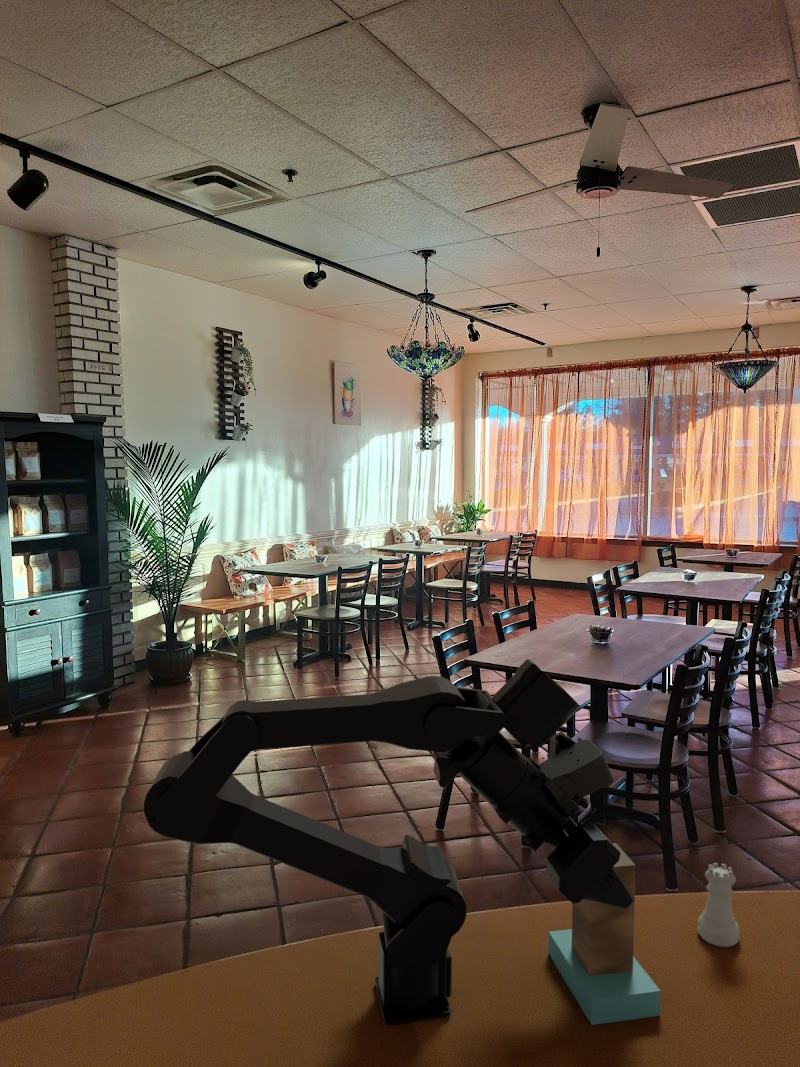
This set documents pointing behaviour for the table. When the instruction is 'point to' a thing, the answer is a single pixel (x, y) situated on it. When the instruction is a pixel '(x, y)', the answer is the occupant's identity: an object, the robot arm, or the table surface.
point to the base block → (604, 986)
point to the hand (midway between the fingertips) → (609, 879)
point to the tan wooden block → (606, 928)
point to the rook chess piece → (719, 909)
